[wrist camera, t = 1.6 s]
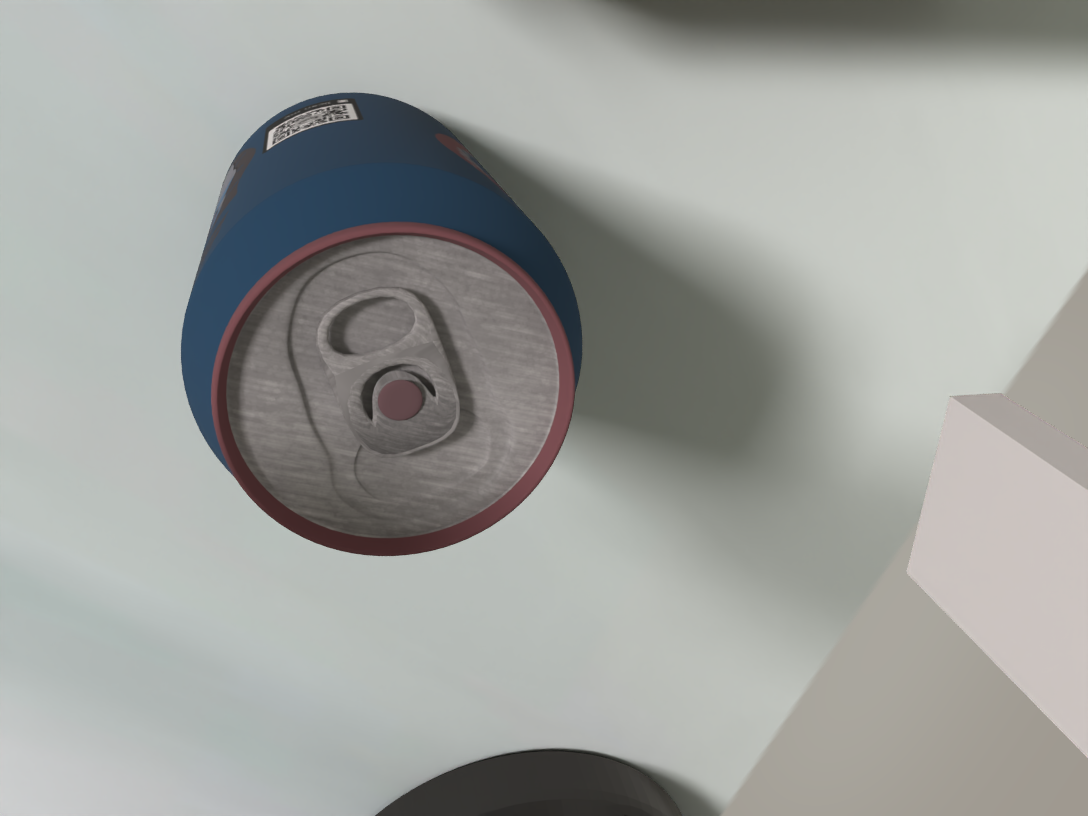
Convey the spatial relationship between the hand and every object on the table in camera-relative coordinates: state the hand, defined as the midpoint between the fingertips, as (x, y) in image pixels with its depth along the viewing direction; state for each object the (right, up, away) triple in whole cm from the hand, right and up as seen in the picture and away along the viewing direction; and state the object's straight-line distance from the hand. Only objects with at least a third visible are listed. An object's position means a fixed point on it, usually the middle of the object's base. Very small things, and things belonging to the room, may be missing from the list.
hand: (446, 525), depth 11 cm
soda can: (-4, +7, +15) cm, 16 cm away
